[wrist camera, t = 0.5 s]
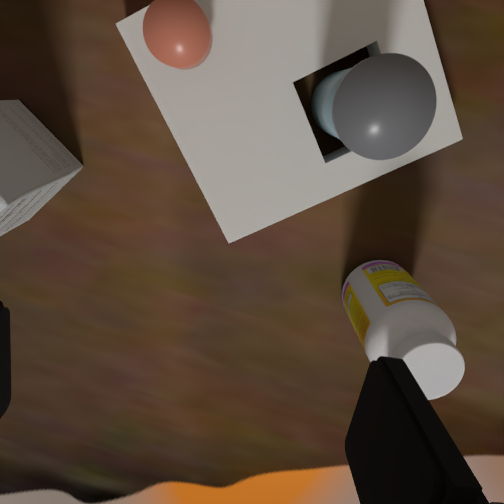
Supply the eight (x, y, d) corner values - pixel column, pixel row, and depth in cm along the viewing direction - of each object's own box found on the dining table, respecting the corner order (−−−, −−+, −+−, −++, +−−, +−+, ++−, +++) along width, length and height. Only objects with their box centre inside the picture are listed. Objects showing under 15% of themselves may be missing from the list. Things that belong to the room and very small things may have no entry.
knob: (199, 0, 30) (189, -20, 25) (224, 56, 31) (219, 48, 26) (150, 26, 30) (130, 12, 25) (177, 80, 32) (162, 78, 27)
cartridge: (362, 53, 33) (419, 33, 22) (385, 121, 35) (448, 134, 24) (296, 86, 34) (319, 82, 23) (322, 150, 36) (355, 176, 25)
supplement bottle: (370, 332, 42) (419, 428, 30) (326, 290, 40) (358, 373, 28) (424, 289, 40) (499, 372, 28) (380, 242, 39) (440, 310, 26)
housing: (374, -106, 29) (387, -127, 27) (445, 135, 35) (462, 139, 32) (127, 29, 32) (115, 23, 30) (230, 232, 38) (228, 243, 35)
